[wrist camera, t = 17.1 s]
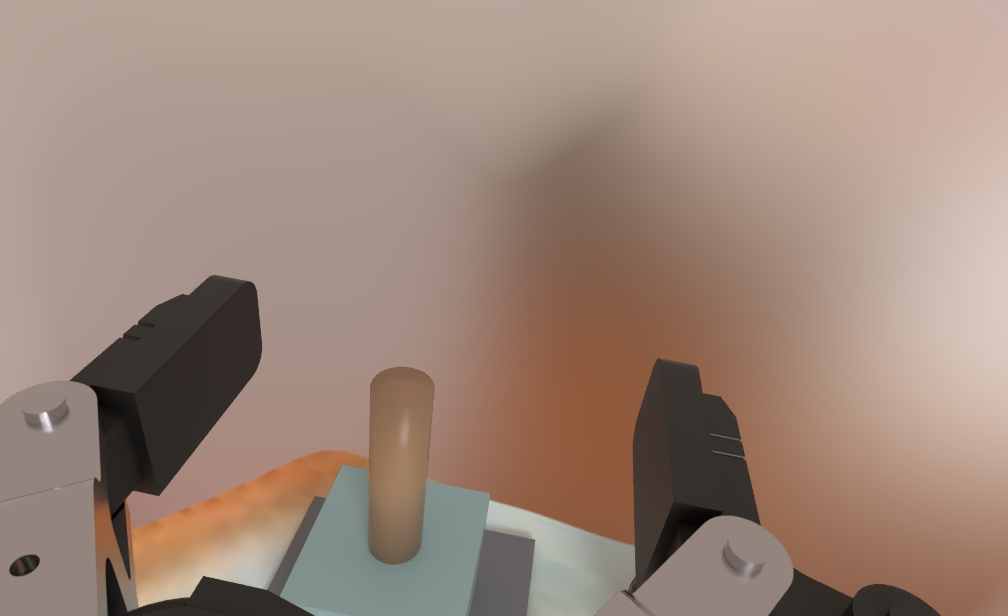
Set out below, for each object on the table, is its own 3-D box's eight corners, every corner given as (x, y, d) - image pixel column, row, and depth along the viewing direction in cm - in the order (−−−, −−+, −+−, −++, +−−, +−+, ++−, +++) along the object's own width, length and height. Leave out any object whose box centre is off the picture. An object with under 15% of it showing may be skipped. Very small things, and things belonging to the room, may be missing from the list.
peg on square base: (343, 547, 48) (340, 315, 37) (477, 573, 48) (514, 347, 37) (286, 684, 40) (259, 437, 29) (448, 719, 39) (485, 481, 28)
